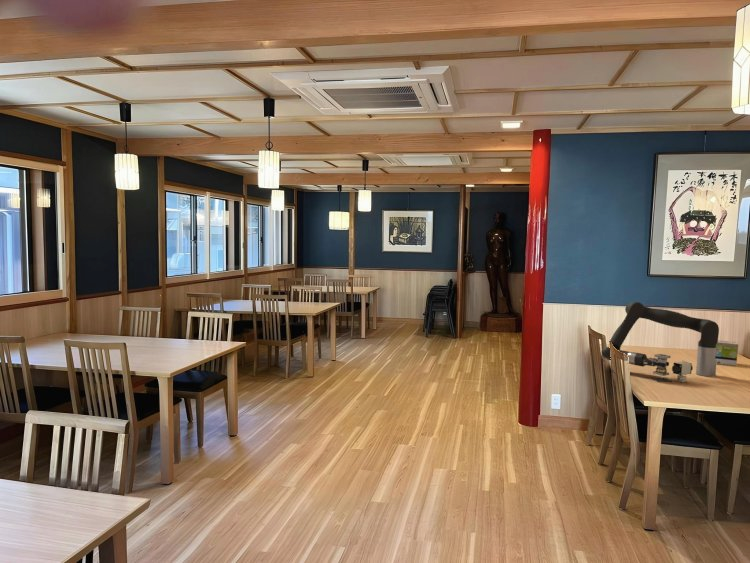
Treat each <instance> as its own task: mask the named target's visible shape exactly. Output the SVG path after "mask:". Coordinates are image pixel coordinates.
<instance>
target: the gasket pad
mask: <svg viewBox="0 0 750 563" xmlns="http://www.w3.org/2000/svg"><path fill="white" fill-rule="evenodd" d="M650 379H651V380H653V381H655V380H656V381H655V382H657V383H658V382H661V383H662V382H663V383H672V382H673V381H672V380H670V379H668V378H666V377H665V376H662V377H661V376H660V377H659V376H658V377H656V376H654V377H653V376H652V377H651V376H650Z"/></svg>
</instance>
